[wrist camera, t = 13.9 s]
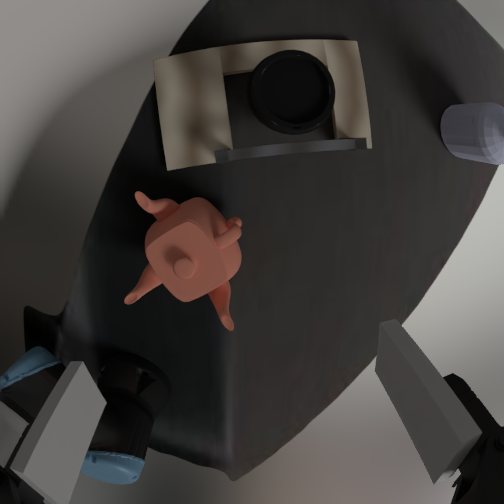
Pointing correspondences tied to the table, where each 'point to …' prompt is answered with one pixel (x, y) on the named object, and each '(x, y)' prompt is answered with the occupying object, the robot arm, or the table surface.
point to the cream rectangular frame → (215, 105)
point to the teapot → (190, 252)
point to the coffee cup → (291, 92)
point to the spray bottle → (474, 131)
